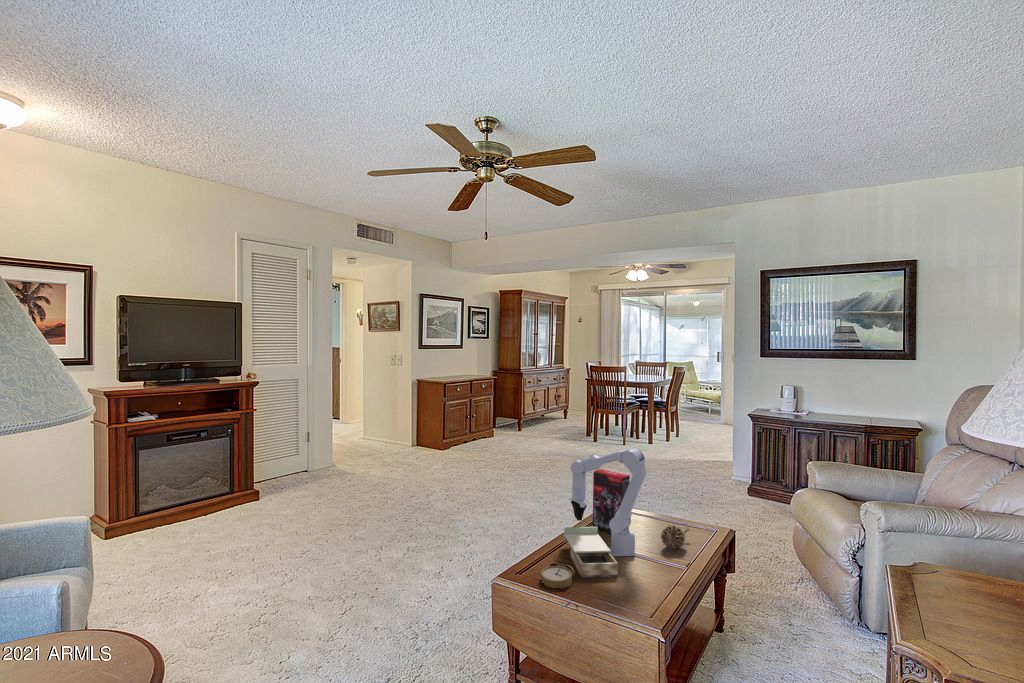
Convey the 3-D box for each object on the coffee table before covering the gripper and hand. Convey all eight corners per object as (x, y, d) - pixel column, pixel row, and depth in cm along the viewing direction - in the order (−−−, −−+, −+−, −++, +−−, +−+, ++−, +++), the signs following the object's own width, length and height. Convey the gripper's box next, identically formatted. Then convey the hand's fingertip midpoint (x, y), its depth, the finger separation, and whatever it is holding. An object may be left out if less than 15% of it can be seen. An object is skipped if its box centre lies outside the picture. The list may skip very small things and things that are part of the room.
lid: (596, 540, 220) (597, 526, 220) (610, 559, 200) (610, 543, 200) (564, 541, 218) (564, 527, 218) (574, 560, 199) (575, 544, 199)
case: (603, 557, 208) (604, 544, 209) (617, 576, 191) (618, 563, 191) (570, 557, 207) (570, 545, 207) (581, 577, 189) (581, 564, 189)
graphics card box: (591, 527, 243) (592, 470, 243) (600, 524, 248) (601, 468, 248) (621, 538, 230) (622, 477, 231) (629, 534, 235) (630, 475, 236)
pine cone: (677, 556, 211) (678, 532, 211) (655, 550, 217) (655, 526, 217) (696, 541, 228) (696, 519, 228) (675, 536, 234) (676, 514, 234)
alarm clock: (536, 577, 182) (550, 555, 196) (536, 590, 183) (551, 567, 197) (565, 584, 178) (578, 561, 191) (566, 597, 178) (579, 573, 192)
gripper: (566, 483, 231) (565, 513, 231) (573, 492, 216) (573, 524, 216) (581, 483, 232) (581, 513, 231) (589, 492, 217) (589, 524, 217)
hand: (578, 518), depth 224 cm, fingers open, 3 cm apart
